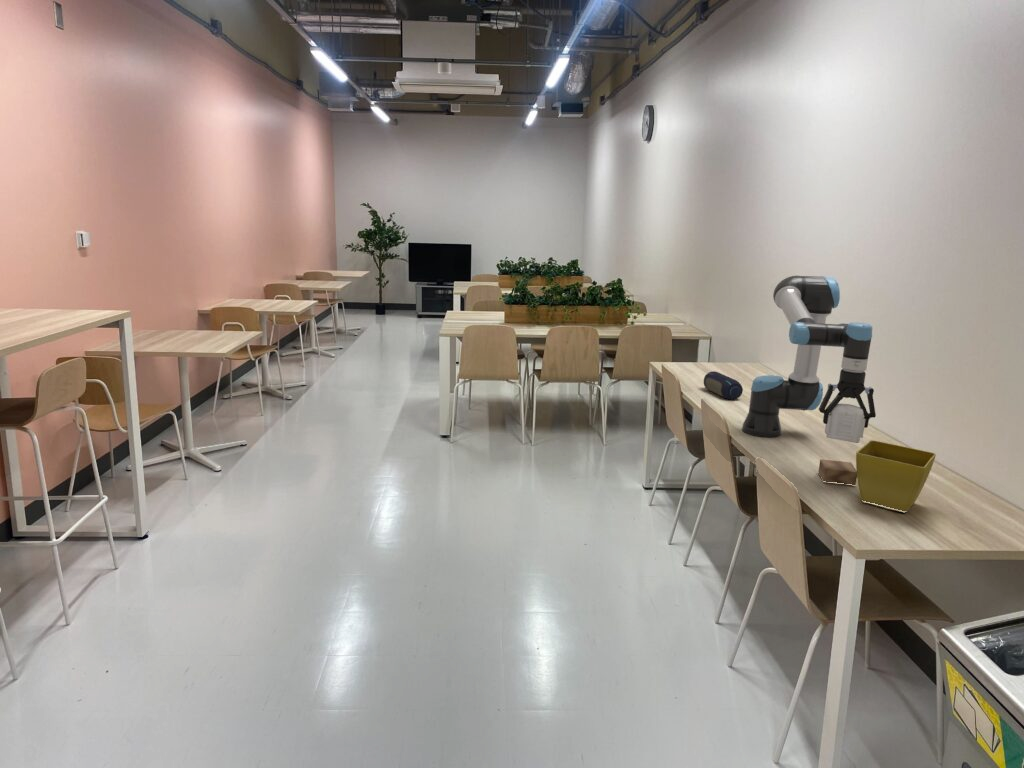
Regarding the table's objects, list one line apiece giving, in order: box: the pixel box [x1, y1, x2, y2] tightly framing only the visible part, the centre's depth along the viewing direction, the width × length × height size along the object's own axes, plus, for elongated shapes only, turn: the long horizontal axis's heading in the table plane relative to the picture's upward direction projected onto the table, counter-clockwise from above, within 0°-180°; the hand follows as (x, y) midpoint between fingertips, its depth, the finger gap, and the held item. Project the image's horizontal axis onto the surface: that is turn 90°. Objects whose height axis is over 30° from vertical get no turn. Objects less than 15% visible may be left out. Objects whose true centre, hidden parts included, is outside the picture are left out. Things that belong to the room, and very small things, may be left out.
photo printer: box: [825, 403, 864, 444], centre depth 239 cm, size 10×4×12 cm, turn 60°
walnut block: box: [817, 458, 857, 485], centre depth 243 cm, size 10×10×5 cm
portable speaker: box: [703, 370, 744, 401], centre depth 352 cm, size 25×10×10 cm, turn 14°
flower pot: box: [855, 439, 937, 512], centre depth 223 cm, size 19×19×17 cm
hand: (843, 434), depth 240 cm, fingers closed on photo printer, 10 cm apart
